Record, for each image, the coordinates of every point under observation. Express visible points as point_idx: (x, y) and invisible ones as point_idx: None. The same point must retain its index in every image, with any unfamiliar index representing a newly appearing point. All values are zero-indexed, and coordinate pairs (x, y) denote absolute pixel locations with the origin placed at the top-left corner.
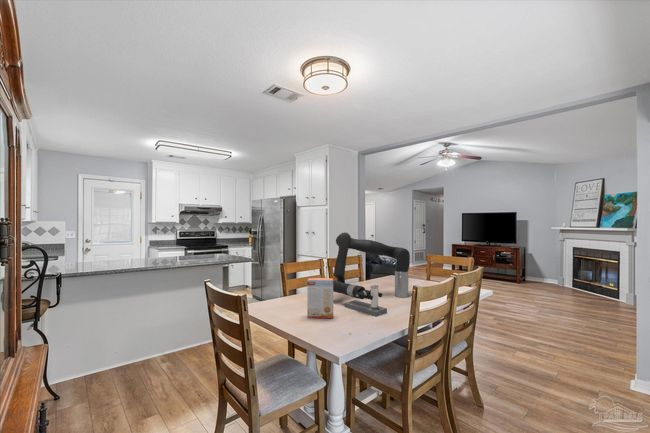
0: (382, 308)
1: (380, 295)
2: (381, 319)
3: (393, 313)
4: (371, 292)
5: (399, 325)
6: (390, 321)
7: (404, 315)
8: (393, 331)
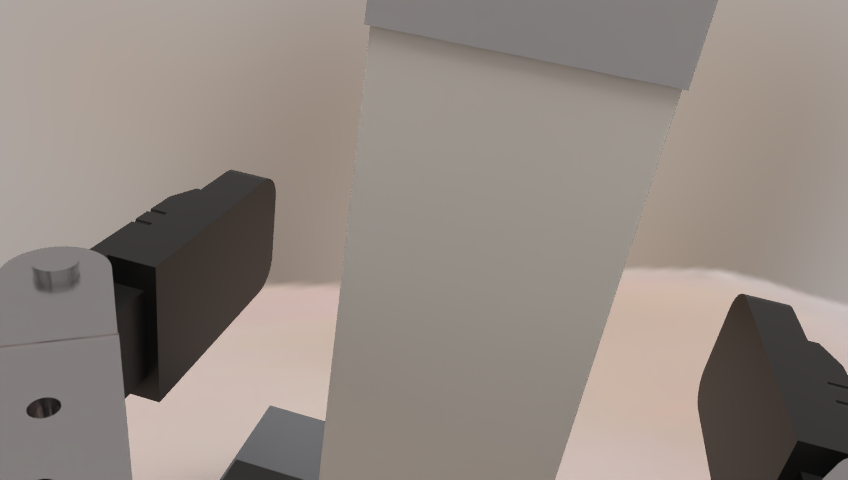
0: (317, 468)
1: (254, 250)
2: (662, 462)
3: (253, 388)
4: (612, 273)
5: (655, 291)
6: (626, 363)
7: (283, 285)
8: (838, 308)
